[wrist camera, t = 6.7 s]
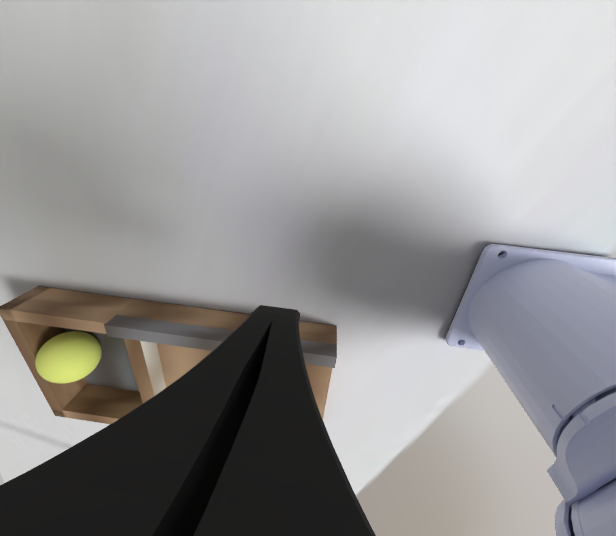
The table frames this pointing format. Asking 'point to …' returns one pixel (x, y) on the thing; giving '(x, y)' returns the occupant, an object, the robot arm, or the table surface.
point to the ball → (68, 357)
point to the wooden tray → (138, 347)
